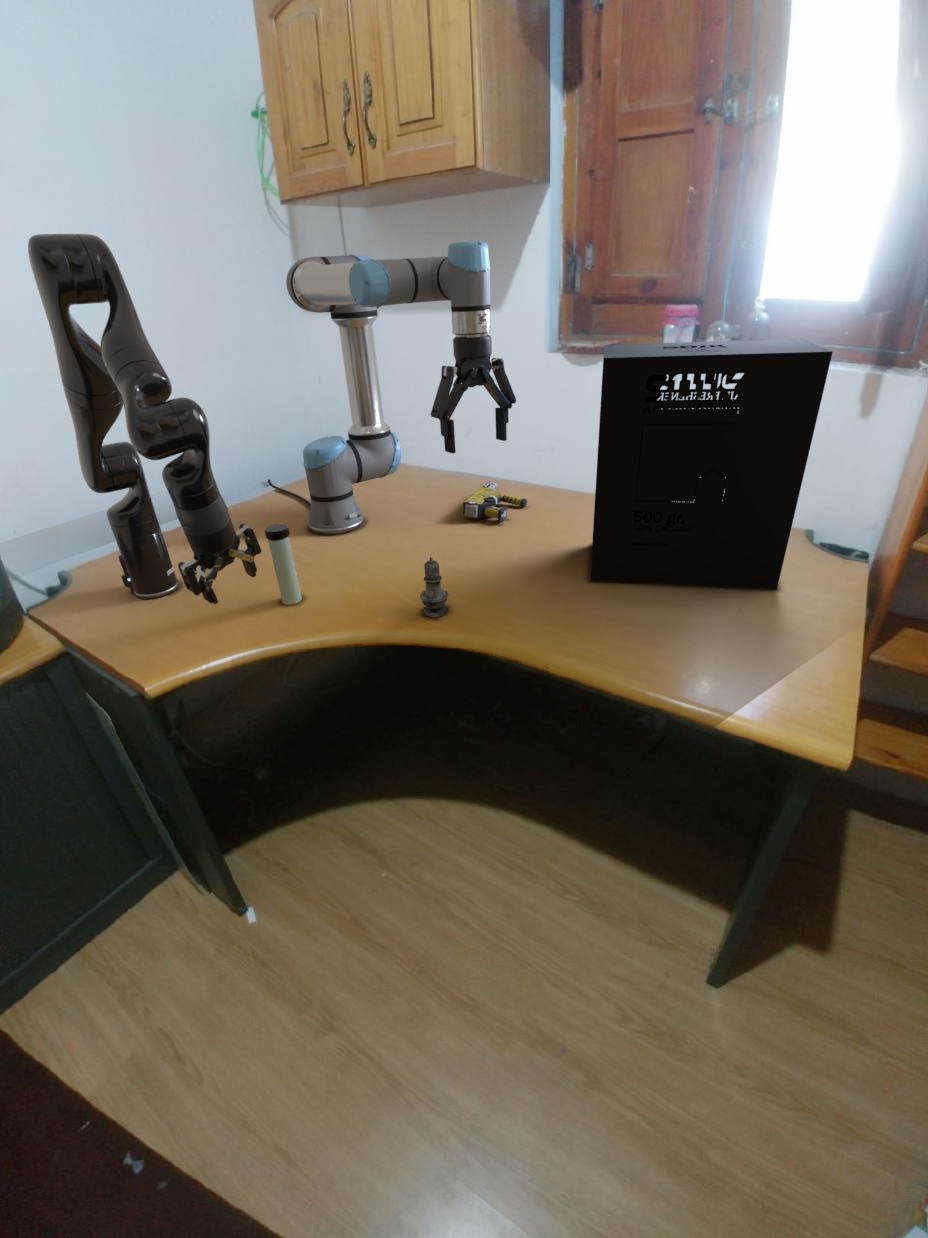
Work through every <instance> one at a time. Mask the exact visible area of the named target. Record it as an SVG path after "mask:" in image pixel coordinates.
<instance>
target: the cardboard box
mask: <svg viewBox="0 0 928 1238" xmlns="http://www.w3.org/2000/svg"><path fill="white" fill-rule="evenodd" d="M833 353H834V352H833V350H830V349H827V348H826V347H825V348H824V347H822V346H821V345H818V344H815V343H813V342H810V341H808V340H805V339H802V338H783V339H782V338H781V339H779V338H777V339H776V338H775V339H749V340H747V339H746V340H723V341H722V340H720V341H719V340H718V341H689V342H687V341H685V342H683V341H682V342H657V343H654V342H653V343H627V344H625V343H624V344H623V343H621V344H604V345H603V359H602V362H603V363H602V375H601V389H600V390H601V392H600V409H599V424H598V425H599V426H598V427H599V428H598V442H597V457H596V458H597V459H596V460H597V461H596V475H595V493H594V496H595V497H594V508H593V509H594V510H593V525H592V527H593V528H592V541H591V557H590V558H591V560H590V575H589V576H590V577H589V580H590V582H603V583H622V584H623V583H625V584H626V583H628V584H645V585H647V584H648V585H669V586H670V585H671V586H693V587H712V588H714V587H715V588H734V589H735V588H737V589H755V590H757V589H758V590H759V589H760V590H778V586H779V582H780V577H781V574H782V570H783V565H784V561H785V556H786V553H787V548H788V543H789V539H790V536H791V531H792V526H793V522H794V519H795V513H796V510H797V505H798V501H799V497H800V493H801V489H802V484H803V480H804V476H805V471H806V467H807V464H808V463H807V462H808V458H809V455H810V450H811V446H812V442H813V437H814V434H815V430H816V425H817V421H818V417H819V411H820V407H821V404H822V400H823V399H822V398H823V394H824V390H825V386H826V381H827V378H828V374H829V369H830V366H831V360H832V356H833ZM738 374H742V376H741V377H740V378H735V376H736V375H738ZM678 375H681V379H680V380H679V384H678V388H675V385H676V379H675V377H676V376H678ZM689 375H693V380H692V381H691V379H688V376H689ZM702 375H704V379H702ZM719 378H720V382H719ZM724 378H725V382H724ZM723 382H724V385H730V384H731V385H734V388H725V387H724V386H723ZM691 383H692V385H695V388H691ZM705 385H710V388H704V386H705ZM662 387H666V389H662Z"/></svg>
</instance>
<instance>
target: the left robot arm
mask: <svg viewBox="0 0 928 1238" xmlns="http://www.w3.org/2000/svg"><path fill="white" fill-rule="evenodd" d="M27 255H28V258H29V259H28V260H29V264H30V267H31V271H32V274H33V278H34V281H35V284H36V288H37V291H38V294H39V298H40V300H41V303H42V306H43V309H44V313H45V316H46V319H47V322H48V323H47V324H48V326H49V329H50V333H51V337H52V340H53V345H54V349H55V355H56V360H57V364H58V365H57V366H58V371H59V375H60V379H61V384H62V388H63V392H64V395H65V400H66V403H67V406H68V409H69V413H70V416H71V421H72V424H73V429H74V434H75V442H76V449H77V455H78V462H79V467H80V471H81V474H82V478H83V479H84V482H85V483H86V486H87V487H88V488H89V490H91V491H93V492H94V493H97V494H108V493H113V492H117V491H122V490H126V489H127V490H128V491H127V493H126V494H125V495H124V496H123V497H122V498H121V499H120V500H119V501H118V502H116V503H114V504H112V505H111V506H110V507H108V509H107V511H106V518H107V520H108V524H109V525H110V528H111V532H112V534H113V536H114V539H115V542H116V544H117V547H118V551H119V553H120V554H119V555H118V561H119V563H120V567H121V569H122V571H123V574H122V575H120V577H121V580H122V582H123V586H124V587H125V588H129V590H130V594H131V595H134V596H135V597H136V598H138V599H143V600H148V599H149V600H150V599H157V598H161V597H164V596H167V595H170V594H171V593H173V592H175V591H177V589H178V588H179V586H180V582H179V580H178V578H177V575H176V572H175V568H174V565H173V563H172V562H173V561H172V559H171V556H170V553H169V549H168V547H167V544H166V540H165V538H164V534H163V532H162V528H161V526H160V522H159V519H158V517H157V516H158V515H157V513H156V510H155V507H154V504H153V500H152V496H151V492H150V490H149V487H148V482H147V479H146V474H145V470H144V467H143V463H142V460H141V457H140V456H142V457H143V458H145V459H146V460H151V461H160V460H164V459H168V458H170V457H173V456H177V455H178V456H177V457H175V458H174V459H172V460H171V461H169V462H167V464H166V465H164V467H163V470H162V472H161V476H162V481H163V483H164V484H163V485H164V486H165V488H166V490H167V492H168V495H169V497H170V499H171V501H172V504H173V507H174V511H175V515H176V517H177V520H178V522H179V524H180V526H181V529H182V531H183V533H184V535H185V537H186V540H187V542H188V544H189V545H190V548H191V550H192V552H193V559H191V560H190V561H188V562H186V563H185V562H184V561H181V562H179V563H178V565H177V568H178V571H179V573H180V575H181V578H182V580H183V583H184V586H185V588H186V590H188V591H190V592H191V593H192V594H193V595H194V596H199V595H202V597H203V600H205V601H207V602H209V604H213V605H217V604H218V603H219V599H218V597H217V595H216V592H215V590H214V589H213V588H212V587H213V583H214V581H216V580H217V577H218V573H219V572H220V571H223V570H224V569H225V568H226V567H227V566H230V565H231V564H233V563H234V562H235V559H238V560H241V563H242V565H243V568H244V571H245V573H246V575H247V576H249V577H251V578H252V579H254V578H255V577H257V573H258V568H257V565H256V562H255V556H257V555H260V554H261V553H262V548H261V545H260V543H259V541H258V538H257V536H256V533H255V531H254V529H253V528H251V527H250V526H248V525H246V524H245V523H244V522H243V523H240V524H239V526H238V528H239V529H238V530H237V531H236V529H235V527H234V524H233V521H232V518H231V515H230V512H229V508H228V506H227V504H226V502H225V500H224V498H223V496H222V494H221V492H220V490H219V487H218V484H217V482H216V479H215V477H214V473H213V470H212V464H211V454H210V453H211V451H210V445H211V444H210V443H211V442H210V441H211V439H210V426H209V421H208V417H207V416H206V414H205V413H206V412H205V411H204V409H203V408H202V407H201V405H199V403H197V402H196V400H193V399H191V398H189V397H185V396H181V397H175V398H172V399H170V397H171V395H172V392H173V386H172V382H171V379H170V377H169V376H168V374H167V372H166V370H165V369H164V367H163V365H162V363H161V362H160V360H159V358H158V356H157V354H156V352H155V351H154V349H153V348H152V346H151V344H150V342H149V340H148V338H147V335H146V333H145V330H144V329H143V325H142V323H141V321H140V318H139V314H138V312H137V309H136V306H135V304H134V302H133V299H132V296H131V293H130V291H129V288H128V287H127V284H126V281H125V279H124V276H123V274H122V272H121V269H120V267H119V264H118V262H117V260H116V258H115V256H114V253H113V252H112V250H111V249H110V247H109V245H108V244H107V243H106V242H105V240H104V239H103V238H101V237H100V236H98V235H95V234H90V233H39V234H34V235H31V236H30V237H29V239H28V241H27ZM104 303H108V305H109V312H108V317H107V320H106V323H105V326H104V328H103V331H102V335H101V339H100V344H99V343H98V342H97V341H95V339H94V338H92V337H91V335H89V334H88V333H87V332H86V331H85V330H84V329H83V328H82V326H81V325H80V324H79V323H78V322H77V321H76V319H75V318H74V317H73V315H72V314H71V310H70V307H71V306H75V305H91V304H93V305H94V304H104ZM123 409H124V415H125V425H126V431H127V435H128V438H129V441H130V442H129V441H118V442H113V443H107V444H104V440H105V438H106V436H107V435H108V433H109V432H110V430H111V429H112V427H113V426H114V424H115V423H116V422H117V420H118V419H119V417H120V414H121V413H122V411H123ZM241 539H242V540H243V541H244V544H245V545H246V549H245V550H243V549H241V548H239V547H240V544H241Z"/></svg>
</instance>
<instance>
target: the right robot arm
mask: <svg viewBox="0 0 928 1238" xmlns="http://www.w3.org/2000/svg"><path fill="white" fill-rule="evenodd" d="M490 263H491V262H490V252H489V245H488V244H487V242H485V241H484V240H466V241H455V242H451V243H450V244H449V245H448V247H447V256H431V257H430V256H427V257H413V258H411V257H410V258H391V259H390V258H386V259H374V258H370V257H369V256H367V255H358V254H349V255H328V256H326V255H325V256H310V257H305V258H302V259H300V260H298V261H296V262H295V263H293V265H291V267H290V268H289V269H288V272H287V275H286V281H285V282H286V283H285V284H286V285H285V286H286V290H287V293H288V296H289V297H290V299H291V300H292V303H294V304H295V305H296V306H298V307H299V308H300V309H302V310H304V311H306V312H310V313H318V314H319V313H320V314H321V313H330V320H331V321H332V322H333V323H334V324H335V325H336V326H337V327H338V332H339V333H338V334H339V339H340V347H341V355H342V361H343V369H344V375H345V382H346V383H345V384H346V389H347V396H348V404H349V410H350V418H351V425H350V426H349V428H348V430H347V436H348V439H345V437H343V436H341V435H332V436H324V437H321V438H318V439H315V440H312V441H311V442H309V443H308V444H306V445H305V446H304V448H303V450H302V457H303V459H302V460H303V467H304V471H305V476H306V481H307V486H308V492H309V498H310V501H308V500H307V499H306V498H304V497H303V496H300V495H298V494H297V493H294V492H291V491H288V490H286V489H283V488H280V487H279V486H276V485H274V483H272V481H271V479H270V478H269V479H267V483H268V484H269V486H270V487H272V488H273V489H275V490H278V491H280V492H282V493H285V494H288V495H290V496H292V497H295V498H297V499H299V500H300V501H303V502H304V503H305V504H307V505H308V506H309V513H308V521H307V522H308V523H307V524H308V528H309V529H308V530H310V531H311V532H312V533H314V534H317V535H323V536H324V535H325V536H327V535H329V536H331V535H339V534H340V535H341V534H345V533H350V532H353V531H355V530H357V529H359V528H361V527H362V526H363V525H364V523H365V519H364V514H363V512H362V510H361V508H360V505H359V504H358V501H357V500H356V498H355V495H354V489H353V485H354V484H355V485H356V484H359V483H363V482H368V481H371V480H375V479H381V478H385V477H387V476H390V475H392V474H394V473H396V472H397V470H398V469H399V467H400V465H401V462H402V446H401V443H400V441H399V437H398V436H397V435H396V434H395V432H394V431H391V426H390V425H388V423H386V422H385V420H384V419H385V418H384V410H383V402H382V393H381V385H380V377H379V368H378V367H379V366H378V358H377V349H376V341H375V331H374V324H375V322H376V320H377V319H378V317H379V314H378V309H379V308H381V307H385V306H394V305H403V304H405V305H406V304H417V303H419V304H420V303H427V302H428V303H429V302H444V301H448V302H449V301H450V311H451V313H450V314H451V315H450V316H451V334H453V335H454V337H453V339H452V350H453V358H454V359H455V363H454V366H452V365H442V366H441V373H440V374H441V375H440V376H441V377H440V381H439V384H438V388H437V390H436V395H435V398H434V401H433V404H432V407H431V411H430V416H431V418H435V419H438V421H439V426H440V435H441V437H443V441H444V442H443V443H444V452H446V453H450V454H456V433H455V420H454V419H451V418H452V416H453V414H454V413H455V410H456V409H457V406H458V404H459V402H460V401H461V399H462V397H463V396H464V393H465V392H466V391H468V389H469V388H474V387H477V386H478V387H482V386H483V387H484V389H485V390H486V391H487V392H488V394H489V396H491V398H492V399H493V401H494V402H495V403H496V405H497V406H498V407H495V408H494V410H495V411H494V413H495V414H494V415H495V439H496V440H499V441H502V442H507V441H508V438H507V435H508V433H507V424H509V410H510V409H512V407H513V404H516V403H517V398H516V394H515V393H514V390H513V388H512V385H511V383H510V380H509V378H508V375H507V373H506V370H505V363H504V362H505V361H504V359H503V358H499V357H493V358H491V356H492V354H493V346H492V344H493V343H492V340H493V339H492V336H491V335H489V333H491V332H492V315H491V314H492V312H491V311H492V309H491V264H490ZM491 370H492V374H493V376H494V378H493V376H492V375H491ZM455 377H456V378H455ZM454 378H455V380H454ZM495 381H496V383H497V384H496V383H495Z"/></svg>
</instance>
